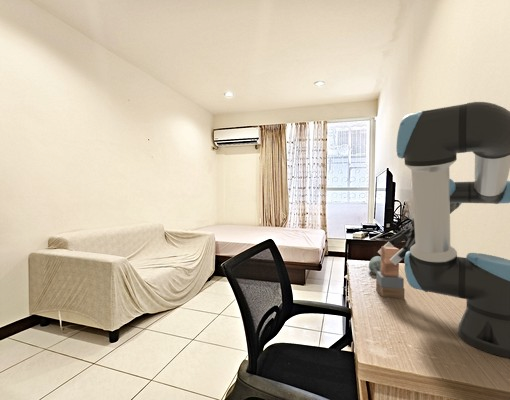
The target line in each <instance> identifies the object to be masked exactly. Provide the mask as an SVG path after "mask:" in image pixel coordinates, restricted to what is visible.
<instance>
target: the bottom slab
mask: <svg viewBox="0 0 510 400" xmlns="http://www.w3.org/2000/svg"><path fill="white" fill-rule="evenodd" d="M375 281H376V280H375ZM375 284H376V285H375V290H376V292H377V293H378V295H380V296H381V297H382V298H386V299H387V298H388V299H405V288H404V289H398V288H383V287H381V286H380V285H379V284H378V282H377V281H376V282H375Z"/></svg>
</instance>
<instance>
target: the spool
mask: <svg viewBox="0 0 510 400" xmlns="http://www.w3.org/2000/svg"><path fill="white" fill-rule="evenodd" d="M368 269H369V271H370V272H371V273H373V274H374V275H377V271H378V272H381V255H380V256H379V255H376V256H373V257H371V259H370V260H369V263H368Z"/></svg>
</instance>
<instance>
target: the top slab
mask: <svg viewBox="0 0 510 400" xmlns="http://www.w3.org/2000/svg"><path fill="white" fill-rule="evenodd" d="M375 275H376V274H375ZM375 281H377V282H378V284H379V285H380V286H381V287H383V288H398V289H404V290H405V288H404V285H405V283H404V282H405V278H403V276H401V274H399V277H392V276H384V275H383V274H382V273H381V272H378V271H377V275H376V280H375Z"/></svg>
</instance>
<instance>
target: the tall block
mask: <svg viewBox="0 0 510 400" xmlns="http://www.w3.org/2000/svg"><path fill="white" fill-rule="evenodd" d="M380 247H381V248H380V249H381V255H380V257H381V273H382V274H383V275H384V276H392V277H399V275H400V271H399V270H400V262H399V263H397V264H396V265H394V264H393V263H392V262H391V261H390V259H391V258H392V257H393V256H394V255H395V254H396V253H397V252H398V251H400V249H399V248H397V247H387V246H384V245H382V246H380Z"/></svg>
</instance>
